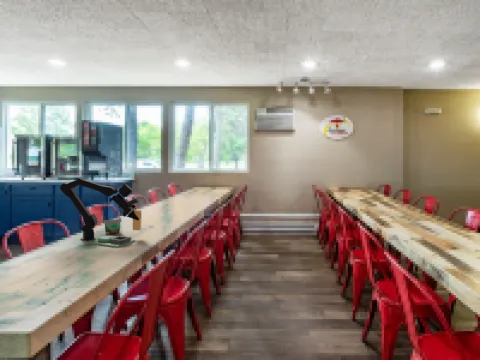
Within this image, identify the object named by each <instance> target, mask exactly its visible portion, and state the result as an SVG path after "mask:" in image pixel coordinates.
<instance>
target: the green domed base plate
mask: <svg viewBox="0 0 480 360" xmlns="http://www.w3.org/2000/svg"><path fill="white" fill-rule="evenodd" d="M134 242H135V239H132V237H131V236H124V235H119V236H116V235H105V236H104V235H103V236H100V237H98V238H97V240H96V239H95V240H94V241H93V240H92V241H90V243H89V244H90V245H95V246H102V247H103V246H104V247H110V248H120V247H121V248H122V247H123V246H126V245H129V244H132V243H134Z"/></svg>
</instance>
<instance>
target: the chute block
mask: <svg viewBox="0 0 480 360" xmlns="http://www.w3.org/2000/svg"><path fill="white" fill-rule="evenodd" d="M134 213H135V214H136V215H137V217H138V218H139V220H135V219H132V231H141V230H142V209H136V210H134Z"/></svg>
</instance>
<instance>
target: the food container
mask: <svg viewBox="0 0 480 360" xmlns="http://www.w3.org/2000/svg"><path fill="white" fill-rule="evenodd" d="M121 223H122V218H121V217H119V218H116V219H110V220H109V219H104V220H103V224H104V231H105V232H104V233H105V235H106V236H115V235H118V234H120V232H121V231H120V230H121Z"/></svg>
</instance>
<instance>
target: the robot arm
mask: <svg viewBox="0 0 480 360" xmlns="http://www.w3.org/2000/svg"><path fill="white" fill-rule="evenodd" d="M79 186H82V187H84V188H89V189H90V190H95V191H97V192H99V193H101V194H102V195H104V196H106V197H108V199H109V200H108V202H109V203H111V202H114V203H115V205H117V206H118V208H119V209H121V210H123V212H122V214H121V215H122V216H123V218H125V217H126V218H130V219H131V220H133V219H135V220H139V218H138V217H137V215H136V214H135V213H134V210H137V205H136V204H137V203H139V202H140V201H139V199H138V198H137V197H135V196H133V197H131V199H130V200H128V199H125V198H127V197H128V196H130V194H132V193H133V192H134V189H133V188H132V187H131V186H129V185H128V184H126V183H124V184H123V185H122V186H121V187H120V188H115V187H114V186H109V185H103V184H98V183H96V182H92V181H90V180H88V179H84V178H82V177H80V178H77V179H75V180H73V181H70V182H68V181H67V182H65V183H62V184H61V185H60V186H59V187H60V188H59V189H60V191H61V192H62V193H63V195H64V196H66V197H68V198H69V200H70V201H71V203H73V205H74V207H75V208H76V209H77V211H78V212H79V214H80V215H81V217H82V220H83V221H82V222H83V223H84V225H83V226H82V227H81V228H80V229H81V231H82V238H80V240H81V241H86V242H89V241H90V242H91V241H93V240H96V239H97V238H96V237H95V227H96V226H97V225H98V223H99V220H98V217H97V216H96V214H95V213H90V211H88V209H87V207H86V206H85V204H84V203H83V202H82V200H81V198H80V197H79V196H78V194H77V192H76V191H77V190H76V188H78V187H79ZM111 196H112V197H111Z"/></svg>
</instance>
